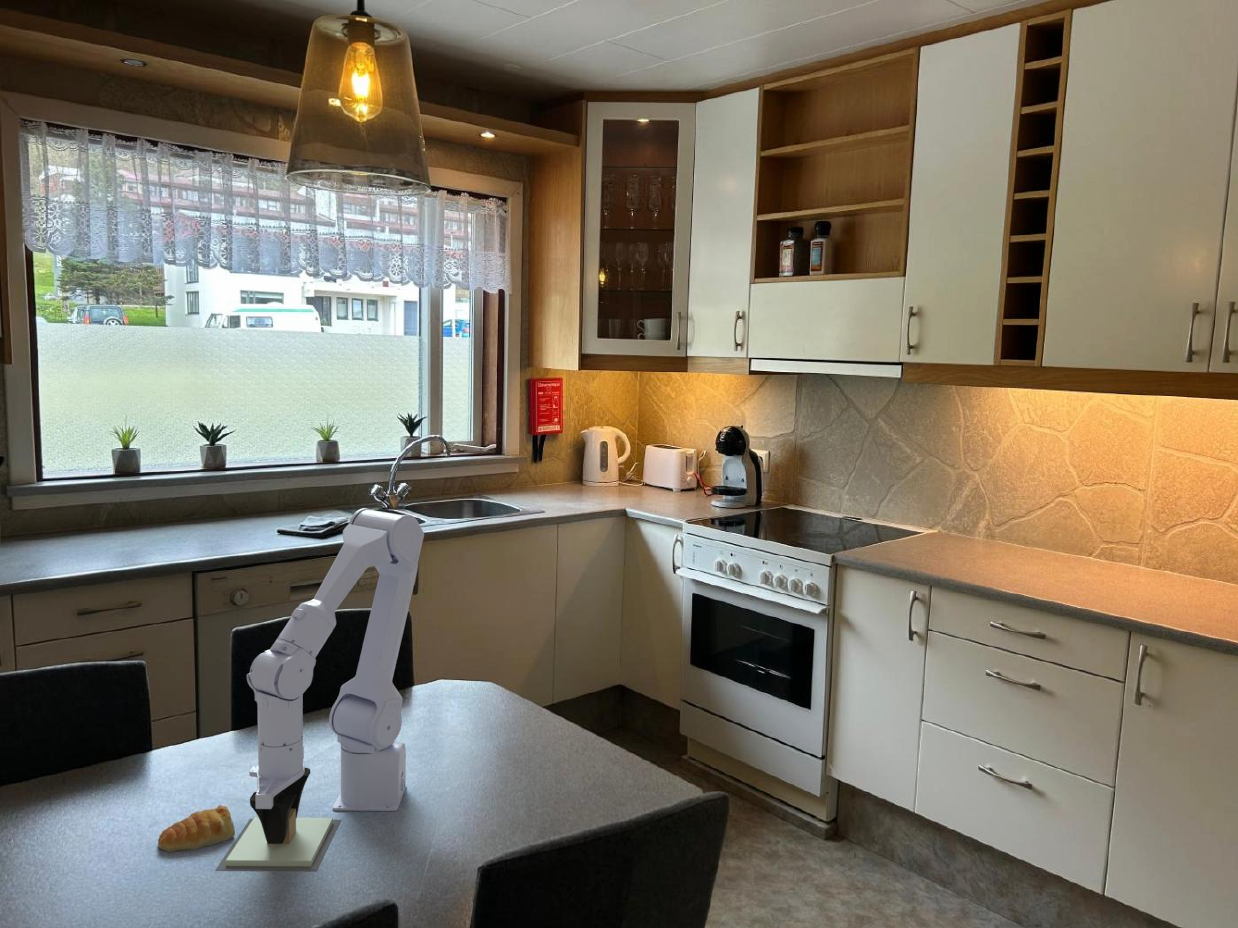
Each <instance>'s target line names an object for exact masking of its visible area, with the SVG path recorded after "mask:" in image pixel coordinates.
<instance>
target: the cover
mask: <svg viewBox="0 0 1238 928" xmlns="http://www.w3.org/2000/svg"><path fill="white" fill-rule="evenodd" d="M252 819H253V820H252V822H251V823H250V825H249V826H248V828H247V829H246V831H245V832H244V834H243V835H242V837H241V838H240V840H239V841H238V843H237V844H236V846H235V847H234V849H233V850H232V852H231V853H230V855H229V856H228V858H227V859H226V866H312V864H313V862H314V860H315V858H316V856H317V854H318V852H319V850H320V848H321V846H322V844H323V842H324V840H325V838H326V836H327V834H328V832H329V830H330V828H331V826H332V824H333V820H334V819H333V817H297V818H296V809H290V812H289V817H288V823H287V831H286V836H285V840H284V842H283V844H268V843H267V841H266V838H265V834H264V831H263V827H262V824H261V821H260V819H259V817H258V816H254V818H252Z"/></svg>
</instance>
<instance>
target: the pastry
mask: <svg viewBox="0 0 1238 928" xmlns="http://www.w3.org/2000/svg"><path fill="white" fill-rule="evenodd" d="M231 816H232V815H231V812H230V809H229V807H228V806H225V805H221V804H220V805H217V807H216V808H209V809H204V810H201V811H200V810H197V811H195V812H193V813H191V814H189V816H188V817H186V818H183V819H182V820H181V821H176V822H175V823H173V824H172V825H170V826H168V827H167V828H166V829H164V830H162V831H161V834H160V835H159V838H158V841H157V846H158V847H159V849H161V850H162V851H165V852H169V853H171V852H172V853H173V852H177V851H188V850H198V849H201V848H204V847H207V846H211V845H216V844H219V843H223V842H225V841H230V840H231V839H232V838H233V837H234V836H235V834H236V831H235V826H234V822H233V819H232V817H231Z"/></svg>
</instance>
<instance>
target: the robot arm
mask: <svg viewBox="0 0 1238 928" xmlns="http://www.w3.org/2000/svg"><path fill="white" fill-rule="evenodd" d="M424 537H425V533H424V531H423V528H422V526H421V525H420V523H419V521H418V520H417V519H416V518H415V517H414V516H412V515H410V514H397V513H393V512H391V513H390V512H385V511H379V510H373V509H371V508H366V507H365V508H364V507H363V508H360V509H358V510H357V511H355V512H354V513H353V515H352V516H351V518H350V520H349V521H348V524H347V525H346V526H345V527H344V529H343V530H342V540H343V544H342V547H341V548H340V550H339V552H338V554H337V556H336V557H335V559H334V561H333V562H332V565H331V567H330V569H328V571H327V574H326V575H325V577H324V579H323V581H322V583H321V584H320V587H319V588H318V590H317V592H316V594H315V595H314V597H313V599H311V600H308V601H305V602H301V603H300V604H298V605H299V606H298V607H296V608H295V609H294V610H293V612H292V613H291V615H290V616H291V617H290V618H289V620H288V622H287V623H286V625H285V626H284V628H283V629H282V631H281V632H280V633H279V635H278V637H277V638H276V640H275V641H274V643H273V644H272V645H271V647H270V649H267V650H264V652H262V653H260V654H258V655H257V656H256V657H255V658H254V659H253V661H252V662H251V666H250V667H249V673H247V674H246V681H247V684H248V686H249V688H251V689H252V690H253V693H254V701H255V702H256V704H257V748H258V749H257V754H258V756H257V757H258V759H257V761H258V763H257V765H253V766H252V767H251V768H250V769H249V775H248V776H249V777H250V778H251V777H252V778H253V777H254V778H256V780H257V781H256V783H257V791H253V793H252V795H250V798H249V805H250V807H251V808H252V810H253V811H254V812H255V814H256V815H257V817H259V819H260V821H261V824H262V827H263V831H264V834H265V838H266V841H267V843H268V844H283V842H284V840H285V836H286V831H287V823H288V817H289V812H290V809H296V818H298V814H299V808H300V804H301V798H302V795H303V791H304V788H305V786H306V783H307V780H308V778H309V776H310V775H311V769H310V768H309V767H306V766H305V761H304V759H305V755H304V754H305V752H304V751H305V745H304V731H303V730H304V727H303V726H304V720H303V719H304V716H303V715H304V714H303V708H304V706H303V704H304V703H303V696H304V695H303V694H304V693H305V692H306V691H307V689H308V688H309V687H310V686H311V684H312V681H313V678H314V668H315V666H316V664H317V663H316V662H317V659H316V657H317V656H318V654H319V652H320V651H321V649H323V646H324V645H325V644H326V642H327V640H328V638H329V637H330V635H331V634H332V633H333V630H334V629H335V627H336V625H337V619H336V610H337V609H338V608H339V607H340V605H341V604H342V602H343V600H345V598H347V595H348V594H350V592H351V590H352V589H353V587H355V585H356V583H357V582H358V581H359V579H361V577H362V575H363V574H364V573H365V571H366V570H367V569H368V568H372V567H374V569H376V571H377V572H378V580H377V584H376V587H375V588H376V589H375V592H374V596H373V601H372V605H371V610H370V614H369V618H368V622H367V626H366V630H365V634H364V639H363V642H362V648H361V652H360V656H359V661H358V664H357V668H356V674H355V676H354V677H353V678H351V679H349V680H348V681H347V682H345V683H343V684H342V685H341V687H340V689H339V690H340V691H339V694H338V696H337V699H336V700H335V702H334V703H333V705H332V707H331V709H330V712H329V717H328V718H329V719H328V724H329V727H330V730H331V731H332V733H334V734H336V735H337V740H336V741H337V743H339V744H340V792H339V794H338V796H337V798H336V800H335V802H334V804H333V806H332V810H333V811H335V812H336V811H337V812H339V811H342V812H345V811H346V812H347V811H349V812H350V811H351V812H354V811H355V812H396V811H398V810H399V808H400V804H401V801H402V799H403V796H404V793H405V791H406V788H407V784H406V776H407V774H406V772H407V771H406V769H407V768H406V767H407V765H406V763H407V761H406V760H407V757H406V756H407V755H406V754H407V751H406V749H407V748H406V744H405V743H404V742H399V741H396V739H397V738H398V736H399V735H400V732H401V729H402V725H403V717H402V706H403V701H404V699H403V696H402V695H401V693H400V692H399V691H398V689H397V688H396V686H395V685H394V683H393V678H394V673H395V669H396V666H397V665H396V664H397V660H398V657H399V652H400V647H401V643H402V639H403V635H404V631H405V626H406V621H407V617H408V613H409V609H410V604H411V599H412V595H413V590H414V586H415V582H416V578H417V573H418V567H419V560H420V559H419V558H420V555H421V550H422V545H423V542H424Z"/></svg>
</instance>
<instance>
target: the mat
mask: <svg viewBox="0 0 1238 928" xmlns="http://www.w3.org/2000/svg"><path fill="white" fill-rule="evenodd" d="M253 819H254V818H249V820H248V821H247V823H246V824H245V825H244V827H243V828H242V830H241V832H240V833H239V834H238V835H237V838H235V840H234V842H233V843H232V845H231V846H230V848H228V851H227V852H226V854H225V855H224V857H223V858H222V859H221V861H220V862H219V864H218V866H216V868H215V869H214V871H227V872H228V871H232V872H233V871H235V872H236V871H238V872H239V871H240V872H242V871H246V872H248V871H251V872H252V871H253V872H257V871H259V872H262V871H263V872H317V871H318V870H319V867H320V865H321V862H322V861H323V859H324V857H325V855H326V853H327V850H328V849H329V847H330V845H331V842H332V840H333V838H334V836H335V834H336V833H337V830H338V828H339V826H340V824H341V822H342V819H333V824H332V826H331V828H330V830H329V832H328V834H327V836H326V838H325V840H324V842H323V844H322V846H321V848H320V850H319V852H318V854H317V856H316V858H315V860H314V862H313V864H312V866H226V859H227V858H228V856H229V855H230V853H231V852H232V850H233V849H234V847H235V846H236V844H237V843H238V841H239V840H240V838H241V837H242V835H243V834H244V832H245V831H246V829H247V828H248V826H249V825H250V823H251V822H252V820H253Z"/></svg>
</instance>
